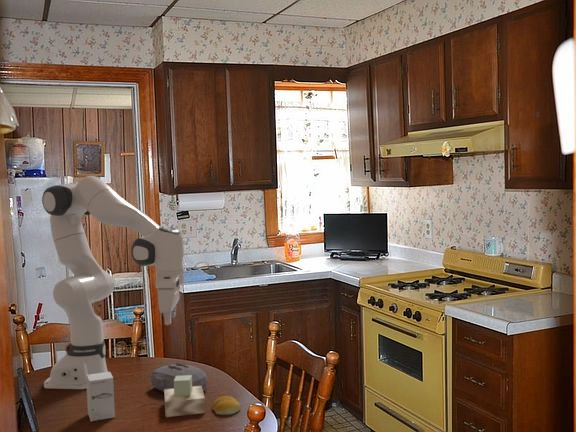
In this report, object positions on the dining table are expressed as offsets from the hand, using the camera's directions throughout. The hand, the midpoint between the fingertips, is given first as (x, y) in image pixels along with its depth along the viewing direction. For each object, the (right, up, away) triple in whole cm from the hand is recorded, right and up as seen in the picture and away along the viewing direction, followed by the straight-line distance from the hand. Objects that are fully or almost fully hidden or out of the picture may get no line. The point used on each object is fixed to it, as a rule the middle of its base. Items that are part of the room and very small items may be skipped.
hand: (170, 320), depth 203 cm
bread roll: (+19, -27, -7) cm, 34 cm away
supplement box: (-19, -28, -9) cm, 35 cm away
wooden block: (+5, -27, -4) cm, 28 cm away
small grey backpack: (+2, -26, +14) cm, 30 cm away
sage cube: (+5, -22, -4) cm, 23 cm away
